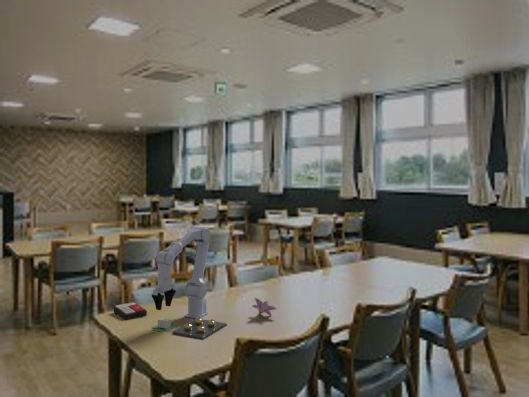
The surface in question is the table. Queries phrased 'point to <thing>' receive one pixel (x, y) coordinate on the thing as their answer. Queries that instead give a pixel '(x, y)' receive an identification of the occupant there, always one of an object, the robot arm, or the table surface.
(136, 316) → the grey and red box
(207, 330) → the chassis
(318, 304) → the table surface
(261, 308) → the lily
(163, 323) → the teal cross block
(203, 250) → the robot arm
